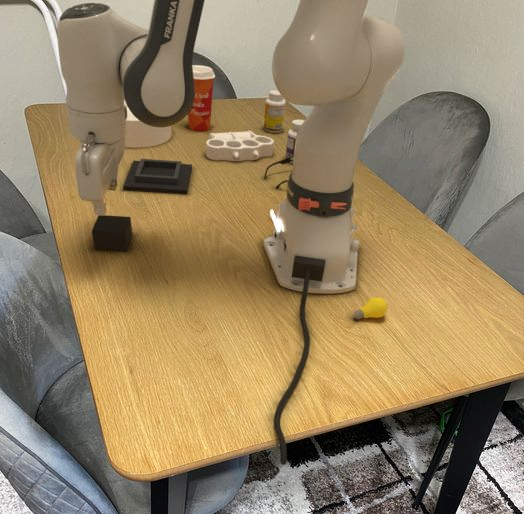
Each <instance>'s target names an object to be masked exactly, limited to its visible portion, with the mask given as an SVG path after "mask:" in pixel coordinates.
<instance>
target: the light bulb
mask: <svg viewBox="0 0 524 514" xmlns="http://www.w3.org/2000/svg"><path fill="white" fill-rule="evenodd" d="M387 311H388V303H387V301H386V300H385V299H384V298H383V297H377V296H375V297H371V298H370V299H368V301H367V302H366V303H365V305H363V306H362V307H361V308H360V309H359V310H356V311H354V314H353V319H355V320H360V319H361V320H362V319H363V318H364V319H368V318H372V319H373V318H374V319H375V318H376V319H378V318H382V317H383V316H385V315H386V314H387Z"/></svg>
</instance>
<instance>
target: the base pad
mask: <svg viewBox="0 0 524 514" xmlns="http://www.w3.org/2000/svg"><path fill="white" fill-rule="evenodd" d="M192 171H193V164H191V163H183V161H181V160H168V159H167V160H165V159H151V158H140V160H132V163H131V166H130V168H129V171H128V173H127V174H126V178H125V181H124V183H123V185H122V187H123V188H122V189H123V191H133V192H148V193H164V194H165V193H166V194H179V195H188V192H189V186H190V181H191V174H192Z"/></svg>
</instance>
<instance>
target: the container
mask: <svg viewBox="0 0 524 514" xmlns="http://www.w3.org/2000/svg"><path fill="white" fill-rule="evenodd" d="M124 105H126V107H127V119H126V135H125V148H131V149H132V148H134V149H137V148H139V149H140V148H150V147H156V146H160V145H163V144H164V143H166V142H168V141H169V140H170V139H171V138H172V136H173V129H172V127H173V125H172V126H168V127H153V126H149V125H147V124H144V123H143V122H141V121H139V120H138V119H137V118H136V117H135V116H134V115H133V114H132V113H131V111H130V110H129V108H128V106H127V104H126V101H125V100H124Z"/></svg>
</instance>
